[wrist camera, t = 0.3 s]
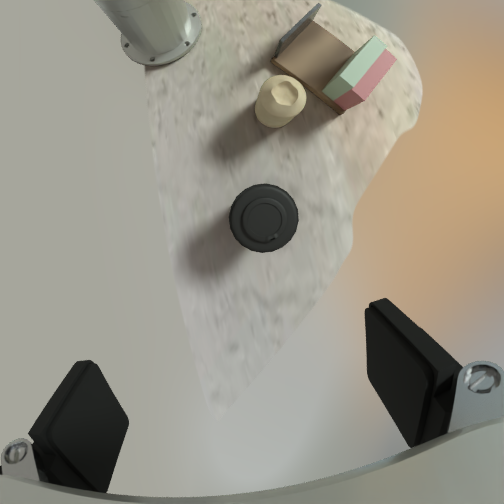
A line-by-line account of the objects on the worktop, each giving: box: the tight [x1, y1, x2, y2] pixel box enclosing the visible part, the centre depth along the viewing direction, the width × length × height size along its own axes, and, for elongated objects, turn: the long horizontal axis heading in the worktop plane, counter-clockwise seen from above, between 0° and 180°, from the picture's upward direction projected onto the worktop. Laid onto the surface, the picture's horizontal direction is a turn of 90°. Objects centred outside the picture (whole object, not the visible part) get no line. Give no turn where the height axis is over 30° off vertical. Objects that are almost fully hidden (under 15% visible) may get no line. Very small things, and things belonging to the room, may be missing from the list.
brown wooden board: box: [271, 21, 355, 115], centre depth 38 cm, size 13×10×2 cm
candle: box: [255, 75, 306, 128], centre depth 35 cm, size 6×6×10 cm
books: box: [322, 35, 397, 110], centre depth 34 cm, size 4×9×8 cm, turn 143°
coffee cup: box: [229, 184, 299, 253], centre depth 39 cm, size 8×8×10 cm
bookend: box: [274, 3, 321, 58], centre depth 33 cm, size 1×9×6 cm, turn 143°
